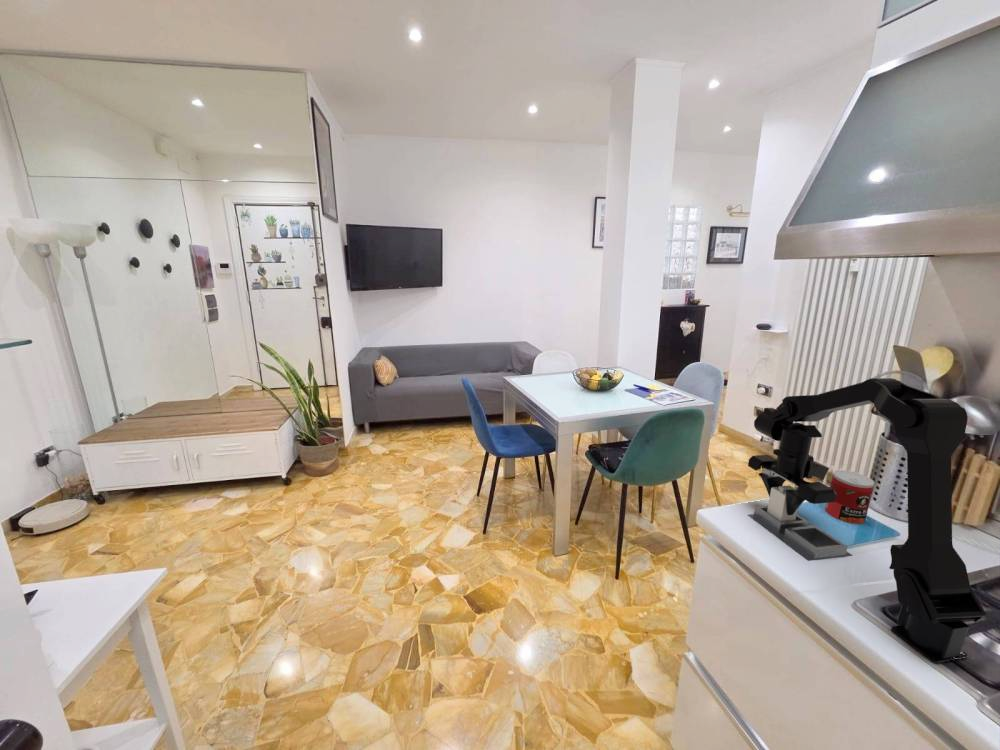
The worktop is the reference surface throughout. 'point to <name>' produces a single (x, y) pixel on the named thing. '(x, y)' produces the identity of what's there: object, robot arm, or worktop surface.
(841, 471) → the canned food
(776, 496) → the plug
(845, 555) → the grey slotted tray
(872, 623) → the worktop surface
